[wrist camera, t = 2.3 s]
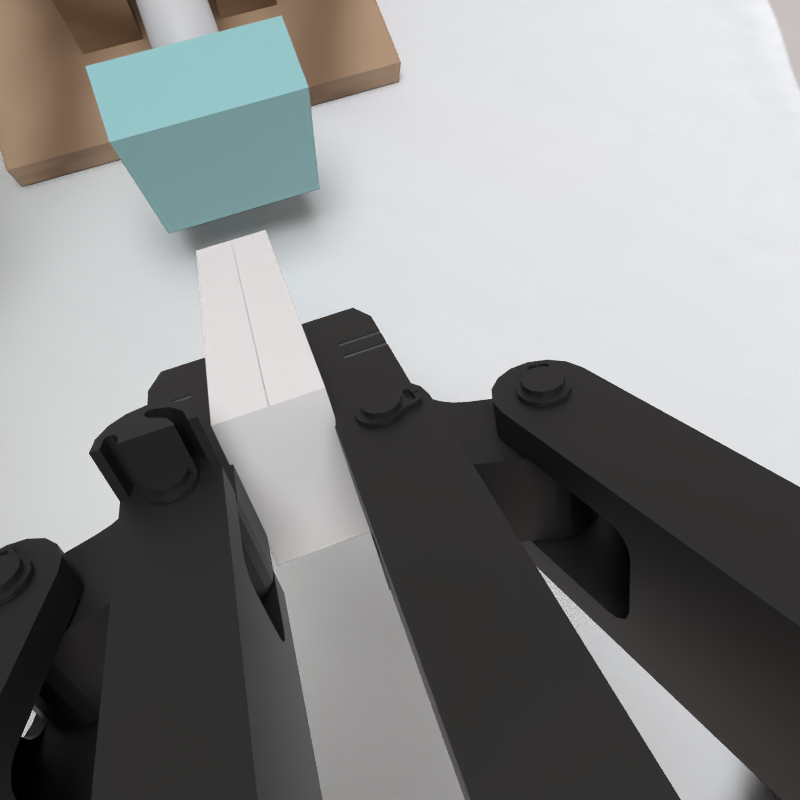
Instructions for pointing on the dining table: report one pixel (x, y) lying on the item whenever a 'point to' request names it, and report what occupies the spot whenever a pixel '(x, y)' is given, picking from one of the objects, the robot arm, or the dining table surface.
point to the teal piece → (208, 114)
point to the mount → (125, 34)
